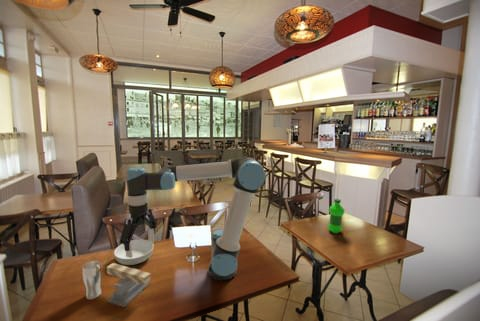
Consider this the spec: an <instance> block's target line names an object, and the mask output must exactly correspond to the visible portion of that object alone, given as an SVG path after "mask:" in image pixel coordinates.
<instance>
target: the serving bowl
mask: <svg viewBox="0 0 480 321" xmlns="http://www.w3.org/2000/svg"><path fill="white" fill-rule="evenodd" d="M130 242H132V255H133V257H132V258H130V257H126V251H125V248H124V244H120V245H118V246H117V247H116V248H115V250H114V251H113V255H114V259H115V260H116V261H117V262H118V263H119V264H120V265H123V266H133V265H137V264H138V265H139V264H140V263H143V262H145V261H147V260H148V259H149V258H150V257H151V255H152V254H153V252H154V242H149V240H148V239H141V238H140V239H133V240H132V239H131V241H130Z"/></svg>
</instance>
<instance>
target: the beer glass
mask: <svg viewBox="0 0 480 321" xmlns="http://www.w3.org/2000/svg"><path fill="white" fill-rule="evenodd" d="M82 279H83V283H84V285H85V289H86V295H85V297H86V299H87V300H94V298H95V299H97V298H99V297H100V296H101V295H102V293H101V292H102V288H101V279H102V269H101V263H100V261H98V260H92V261H88V262H86V263H84V264H83V265H82ZM100 294H101V295H100ZM99 295H100V296H99ZM98 296H99V297H98ZM96 297H97V298H96Z"/></svg>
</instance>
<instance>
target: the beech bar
mask: <svg viewBox="0 0 480 321" xmlns="http://www.w3.org/2000/svg"><path fill="white" fill-rule="evenodd" d="M137 269H138V268H133V267H129V266H127V265H123V264H120V263H119V264H118V263H115V262H112V263H111V264H109V265H108V266H106V273H107V275H110V276H114V277H116V278H120V279H122V278H123V279H126V280H129V281H133V282H136V283H139V284H142V285H146V284H147V283H148V282H151V280H152V279H151V272H147V271H143V270H142V271H140V270H141V269H139V270H137Z"/></svg>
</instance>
